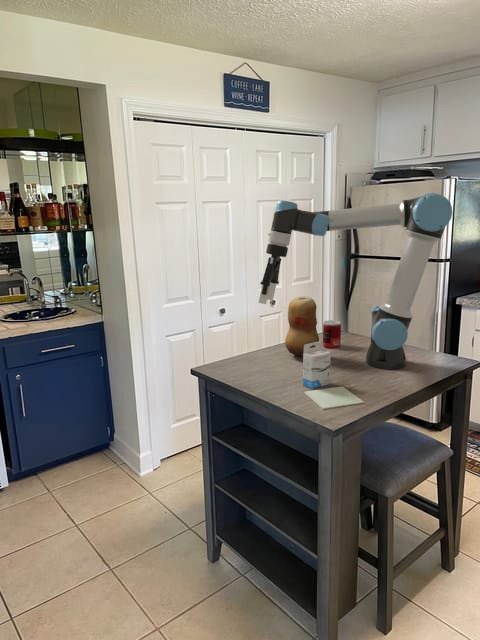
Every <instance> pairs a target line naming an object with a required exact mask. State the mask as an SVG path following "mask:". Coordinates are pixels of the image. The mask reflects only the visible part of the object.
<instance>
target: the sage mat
mask: <svg viewBox="0 0 480 640" xmlns="http://www.w3.org/2000/svg"><path fill="white" fill-rule="evenodd" d="M303 393H304V394H305V395H306V396H307V397H309V399H311V400H312V401H313V402H314V403H315V404H316V405H317V406H319V407H320V408H321V409H322V410H329V409H336V408H342V407H348V406H354V405H360V404H365V401H363V400H362V399H361V398H359V397H358V396H356V395H355V394H353V393H352V392H351V391H349V390H348V389H347V388H345V387H344V386H337V387H331V388H330V387H329V388H322V389H314V390H313V389H312V390H308V391H307V390H306V391H304V392H303Z"/></svg>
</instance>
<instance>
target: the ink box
mask: <svg viewBox="0 0 480 640" xmlns="http://www.w3.org/2000/svg"><path fill="white" fill-rule="evenodd" d="M322 344H323V341H322V340H319V341H318V342H313V343H309V344H305V345H304V353H303V357H302V359H303V360H302V362H303V363H302V385H303V386H304V387H307V388H309V389H311V390H313V389H314V390H315V389H317V388H320V387H321V388H322V387H324V386H327V385H330V384H331V383H330V380H331V356H332V355H331V351H328V350H325V349H322ZM312 345H316V347H313V348H310V346H312Z"/></svg>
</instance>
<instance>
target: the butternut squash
mask: <svg viewBox="0 0 480 640" xmlns="http://www.w3.org/2000/svg"><path fill="white" fill-rule="evenodd" d="M317 308H318V307H317V303H316V301H315V300H314V299H313V298H312V297H309V296H298V297H294V298H292V299H291V300H290V301H289V302H288V310H287V320H288V321H287V322H288V325H289V328H288V330H287V334H286V337H285V347H286V349H287V351H288V352H289V354H292V355H294V356H296V357H297V358H303V353H304V345H305V344H309V343H313V342H318V341H320V338H319V337H320V336H319V333H318V330H317V325H318V320H317ZM313 347H316V345H312V346H310V348H313Z"/></svg>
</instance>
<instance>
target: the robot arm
mask: <svg viewBox="0 0 480 640" xmlns="http://www.w3.org/2000/svg"><path fill="white" fill-rule="evenodd" d="M452 216H453V207H452V204H451V201H450V200H449V199H448V198H447V197H445V196H444V195H442V194H440V193H434V192H432V193H431V192H430V193H426V194H423V195H421V196H418V197H414V198H410V199H402V200H401V201H400V202H399V203H390V204H381V205H379V204H378V205H371V206H370V205H369V206H361V207H360V206H359V207H351V208H342V209H332V210H330V209H329V210H321V211H308V210H302V209H298V204H297V203H296V202H293V201H289V200H283V199H282V200H281V199H280V200H278V201H277V203H276V206H275V210H274V212H273V217H272V223H271V229H270V233H268V237H269V238H268V242H269V243H267V247H266V251H265V253H266V254H268V255H271V256H269V257H268V259H267V265H266V267H265V271H264V273H263V277H262V280H261V281H260V282H259V285H261V291H260V294H259V297H258V298H259V299H258V303H259V304H263V305H267V302H268V301H271V302H272V301H273V300H274V296H275V292H276V288H277V285H279V283H280V281H279V276H280V270H281V265H282V264H281V263H282V258H286V257H287V255H288V251H289V250H288V249H289V247H288V246H290V243H291V238H292V232H293V231H294V232H300V233H305V234H309V235H313V236H319V237H325V235H326V234H327V232H333V231H342V230H343V231H344V230H355V229H356V230H357V229H365V228H366V229H369V228H378V227H379V228H380V227H389V226H391V227H393V226H400V227H401V228H405V232H406V234H407V239H406V242H405V245H404V248H403V250H402V253H401V257H400V260H399V262H398V265H397V268H396V271H395V274H394V277H393V280H392V282H391V285H390V288H389V290H388V291H389V292H388V294H387V298H386V299H385V302H384V303H383V304H375V305H372V307H371V308H372V309H371V331H370V344H369V346H368V350H367V352H366V354H365V363H366V365H368V366H370V367H373V368H377V369H383V370H385V369H387V370H394V369H401V368H404V367H405V366H406V365H407V357H406V353H405V350H404V347H403V345H405V344H406V342H407V339H408V335H409V332H408V331H409V330H408V329H409V328H410V325H411V322H412V319H413V317H414V315H413V314H412V312H411V309H412V307H413V302H414V300H415V297H416V295H417V292H418V290H419V286H420V285H421V282H422V281H421V280H422V278H423V275H424V273H425V270H426V267H427V264H428V261H429V259H430V256H431V253H432V251H433V248H434V245H435V244H436V243H437V242H439V241H441V239H442V238H443V234H444V232H445V229H446V227H447V226H448V225H449V223H450V221H451V219H452Z"/></svg>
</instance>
